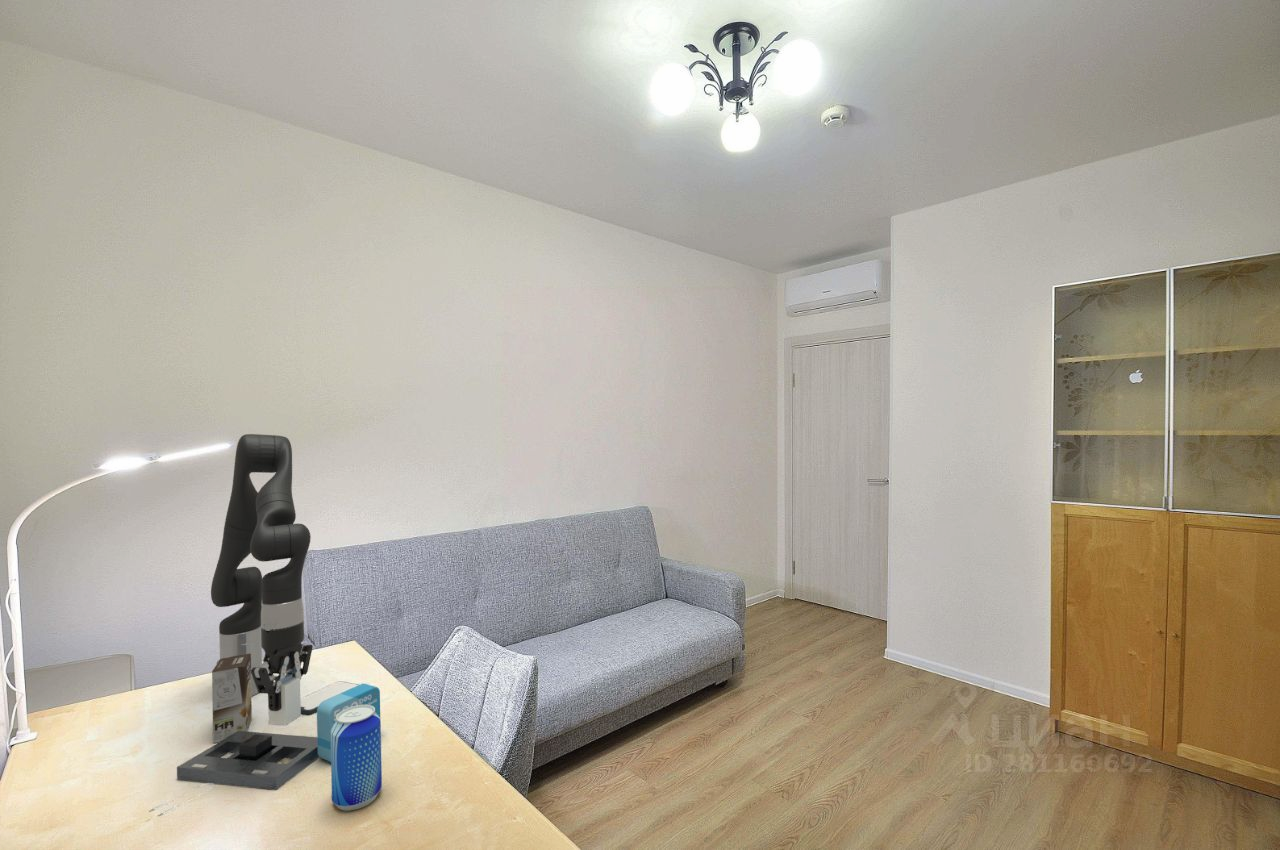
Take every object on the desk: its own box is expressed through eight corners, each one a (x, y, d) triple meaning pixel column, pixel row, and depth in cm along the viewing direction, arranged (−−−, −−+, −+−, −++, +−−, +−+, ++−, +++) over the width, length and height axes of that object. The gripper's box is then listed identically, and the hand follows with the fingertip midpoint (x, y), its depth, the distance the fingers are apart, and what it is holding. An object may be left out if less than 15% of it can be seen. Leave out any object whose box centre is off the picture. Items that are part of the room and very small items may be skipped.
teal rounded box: (330, 766, 117) (329, 708, 117) (317, 760, 119) (316, 703, 120) (381, 738, 128) (380, 684, 128) (368, 733, 130) (367, 680, 130)
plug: (268, 724, 116) (267, 681, 116) (284, 714, 120) (283, 672, 120) (285, 725, 115) (284, 682, 115) (300, 716, 119) (299, 673, 119)
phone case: (338, 686, 157) (283, 712, 142) (338, 680, 157) (283, 705, 142) (362, 690, 154) (309, 717, 139) (362, 684, 154) (309, 711, 139)
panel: (177, 779, 114) (176, 754, 114) (238, 741, 128) (238, 719, 128) (276, 790, 110) (276, 764, 110) (328, 749, 124) (328, 726, 124)
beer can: (369, 779, 112) (367, 698, 113) (390, 795, 107) (388, 710, 107) (324, 801, 106) (322, 715, 106) (344, 820, 101) (342, 729, 101)
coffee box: (246, 736, 130) (245, 666, 130) (212, 744, 127) (211, 672, 127) (252, 718, 138) (251, 652, 138) (220, 725, 135) (219, 658, 135)
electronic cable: (148, 812, 105) (147, 810, 105) (208, 782, 113) (207, 780, 113) (159, 818, 103) (159, 816, 103) (219, 787, 112) (219, 785, 112)
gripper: (293, 610, 126) (295, 688, 125) (237, 633, 112) (238, 721, 111) (323, 611, 124) (325, 690, 124) (270, 634, 110) (272, 723, 110)
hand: (284, 704), depth 118 cm, fingers closed on plug, 4 cm apart
